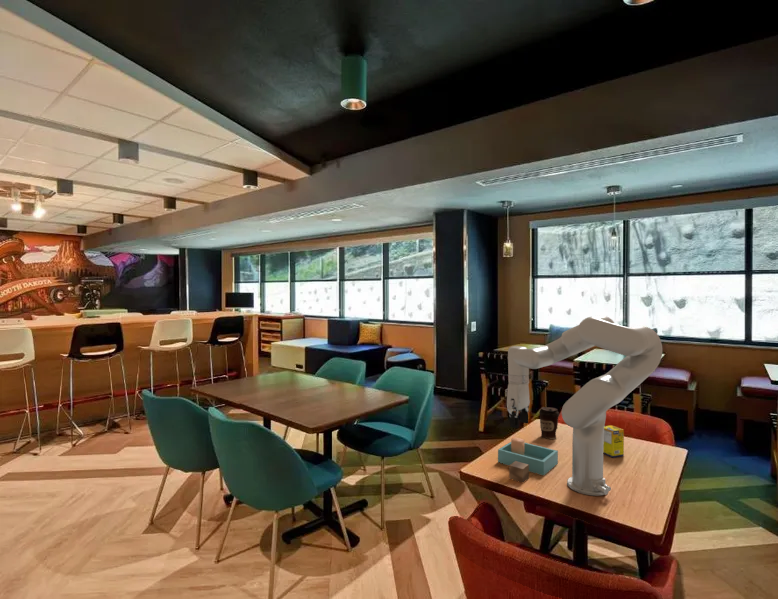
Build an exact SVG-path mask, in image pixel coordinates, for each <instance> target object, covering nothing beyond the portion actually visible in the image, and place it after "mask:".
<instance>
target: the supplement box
mask: <svg viewBox="0 0 778 599" xmlns="http://www.w3.org/2000/svg"><path fill="white" fill-rule="evenodd" d="M624 430H625V429H623V428H620V427H618V426H615V425H611V424H610V425H605V426H604V444H603V453H604V454H603V455H605V454H606V455H605V456H608V457H611V458H613V459H614V458H615V459H616V458H620V457H624V455H625V454H624V450H625V449H624V448H625V446H624V443H625V438H624V437H625V431H624Z"/></svg>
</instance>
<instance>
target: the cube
mask: <svg viewBox="0 0 778 599" xmlns="http://www.w3.org/2000/svg"><path fill="white" fill-rule="evenodd" d="M508 466H509V471H508V472H509V478H510V479H509V480H511V479H513V480H512V481H515V480H516V481H515V482H518V481H519V482H518V483H521V482H524V481H525V480H526V481H527V480H528V479H529V478H530V474H529V472H530V471H529V465H528V464H525V463H521V462H518V461H515V462H513V463H512V464H510V465H508ZM526 481H525V482H526ZM525 482H524V483H525Z"/></svg>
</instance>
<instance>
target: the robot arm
mask: <svg viewBox="0 0 778 599" xmlns="http://www.w3.org/2000/svg"><path fill="white" fill-rule="evenodd" d="M593 347H598V348H601V349H604V350H606V351H609V352H613V353H616V354H618V355H620V356H621V355H622V356H625V357H624V358H623V359H621V360H620V361H618V363H617V364H616V365H615V366H614V367H613V368H611V369H610V370H609V371H608V372H606V373H605V374H602V375H600V376H598V377H595V378H592V379H590V380H589V381H588V382H586V383H585V384H584V385H583V386H582V387H580V389H579V390H578V391H576V392H575V393H574V394H573V395H572V396H571V397H570V398H568V400H566V401H565V403H564V404H563V406H562V407H561V408H562V409H561V418H562V419H563V422H564V423H565V425H567V426H568V427H570V428H572V449H571V451H572V454H571V455H572V456H571V458H572V461H571V464H572V467H571V468H572V469H571V470H572V474H571V477H568V479H567V481H566V482H567V483H566V484H567V486H568V487H569V488H570V489H571V490H572V491H574V492H576V493H579V494H582V495H585V496H593V497H594V496H604V495H605V496H606V495H608V494H609V492H611V490H612V487H611V486H609V485H607V483H606V478H605V477H604V454H603V444H604V426H606V425H605V424H606V419H607V411H608V410H609V409H611V408H612V407H614V406H616V405H618V404H619V403H621V402H622V401H624V399H625V398H626V397H627V396H628V395H629V394H630V393H632V391H634V390H636V388H637V387H638V386H640V385H641V384H642V383H643V382H644V381H645V380H647V378H649V377H650V376H651V375H652V374H653V372H655V370H656V369H657V368H658V366H659V364H660V363H661V361H662V356H663V345H662V341H661V338H660V336H659V335H658V333H657V332H656V331H655V330H654V329H652V328H650V327H649V326H648V327H647V326H643V325H642V326H641V325H639V326H638V325H637V326H632V327H628V326H624V325H620V324H616V323H615V321H614V320H613V319H612V318H610V317H608V316H607V315H595V316H589V317H586V318H584V319H582V321H581V322H580V323H579V324H578V325H576V326H574V327H571V328H569V329H567V330H565V331H563V332H562V333H561V336H560V337H559V338H557V339H555V340H554V341H551V342H550V343H547V344H545V345H542V346H536V347H533V348H527V346H522V345H521V346H520V345H516V346H515V345H514V346H510V347H508V349H507V364H508V365H507V366H508V367H507V368H508V369H507V370H508V374H507V376H508V379H507V380H508V384H507V393H506V409H507V412H508V415H509V426H510V428H513V429H519V427H520V426H519V423H523V424H529V408H530V402H531V399H530V387H529V384H530V370H531V369H532V370H537V369H540V368H541V369H542V368H543V367H548V366H551V365H553V364H556V363H558V362H560V361H563V360H565V359H567V358H570V357H572V356H576V355H577V354H579V353H581V352H584V351H586V350H589V349H591V348H593ZM529 369H530V370H529ZM518 416H519V417H518Z"/></svg>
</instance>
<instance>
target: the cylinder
mask: <svg viewBox="0 0 778 599" xmlns="http://www.w3.org/2000/svg"><path fill="white" fill-rule="evenodd" d="M510 442H511V452H513V453H517V454H520V455H524V443H525V439H523V438H520V437H513V438H511V440H510Z"/></svg>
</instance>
